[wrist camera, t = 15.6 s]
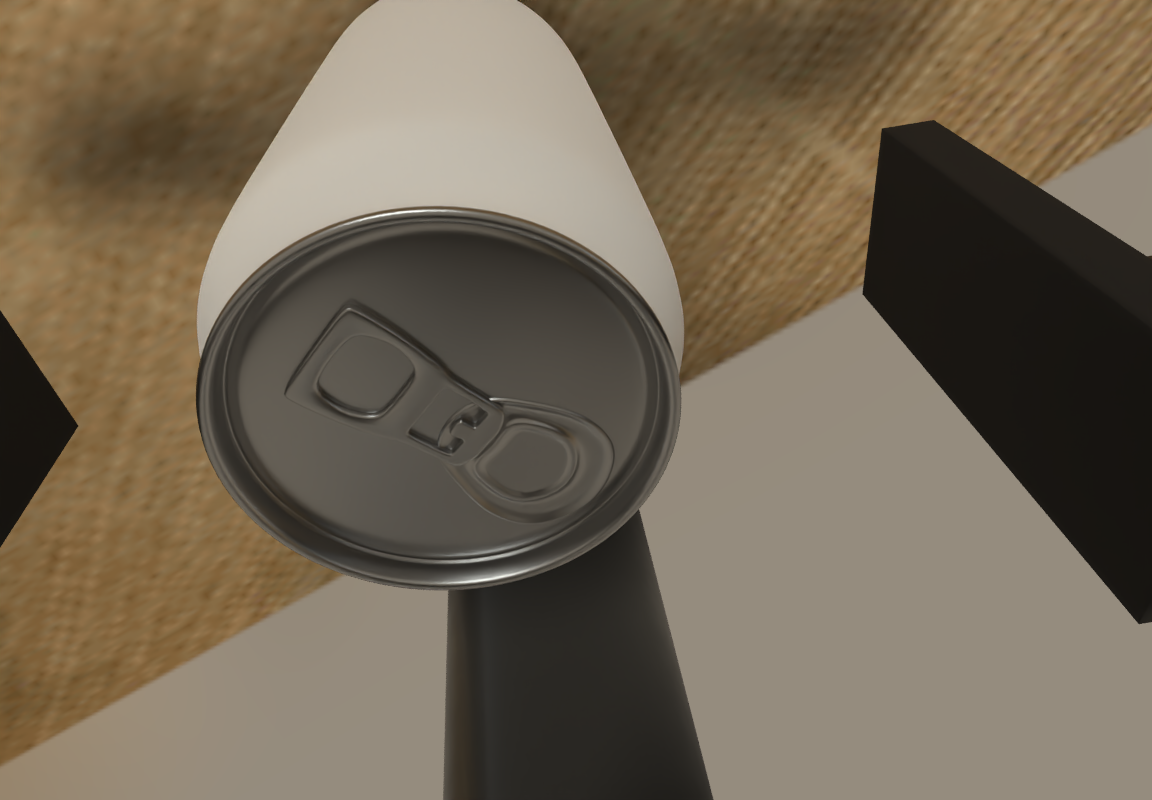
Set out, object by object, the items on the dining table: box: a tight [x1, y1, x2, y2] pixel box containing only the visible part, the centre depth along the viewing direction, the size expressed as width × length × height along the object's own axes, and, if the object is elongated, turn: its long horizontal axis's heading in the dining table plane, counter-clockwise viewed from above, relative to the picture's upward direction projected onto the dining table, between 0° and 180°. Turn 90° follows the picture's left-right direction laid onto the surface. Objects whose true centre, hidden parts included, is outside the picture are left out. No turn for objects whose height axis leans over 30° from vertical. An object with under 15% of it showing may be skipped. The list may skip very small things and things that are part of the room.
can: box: [196, 0, 684, 590], centre depth 14 cm, size 6×6×12 cm
